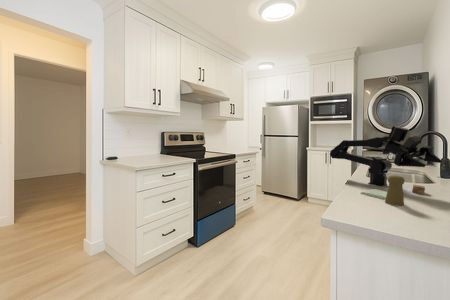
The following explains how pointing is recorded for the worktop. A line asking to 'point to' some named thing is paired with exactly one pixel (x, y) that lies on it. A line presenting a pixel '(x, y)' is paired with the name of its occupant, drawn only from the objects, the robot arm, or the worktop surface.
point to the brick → (418, 189)
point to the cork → (395, 191)
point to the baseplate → (375, 193)
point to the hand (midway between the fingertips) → (433, 163)
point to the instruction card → (405, 191)
